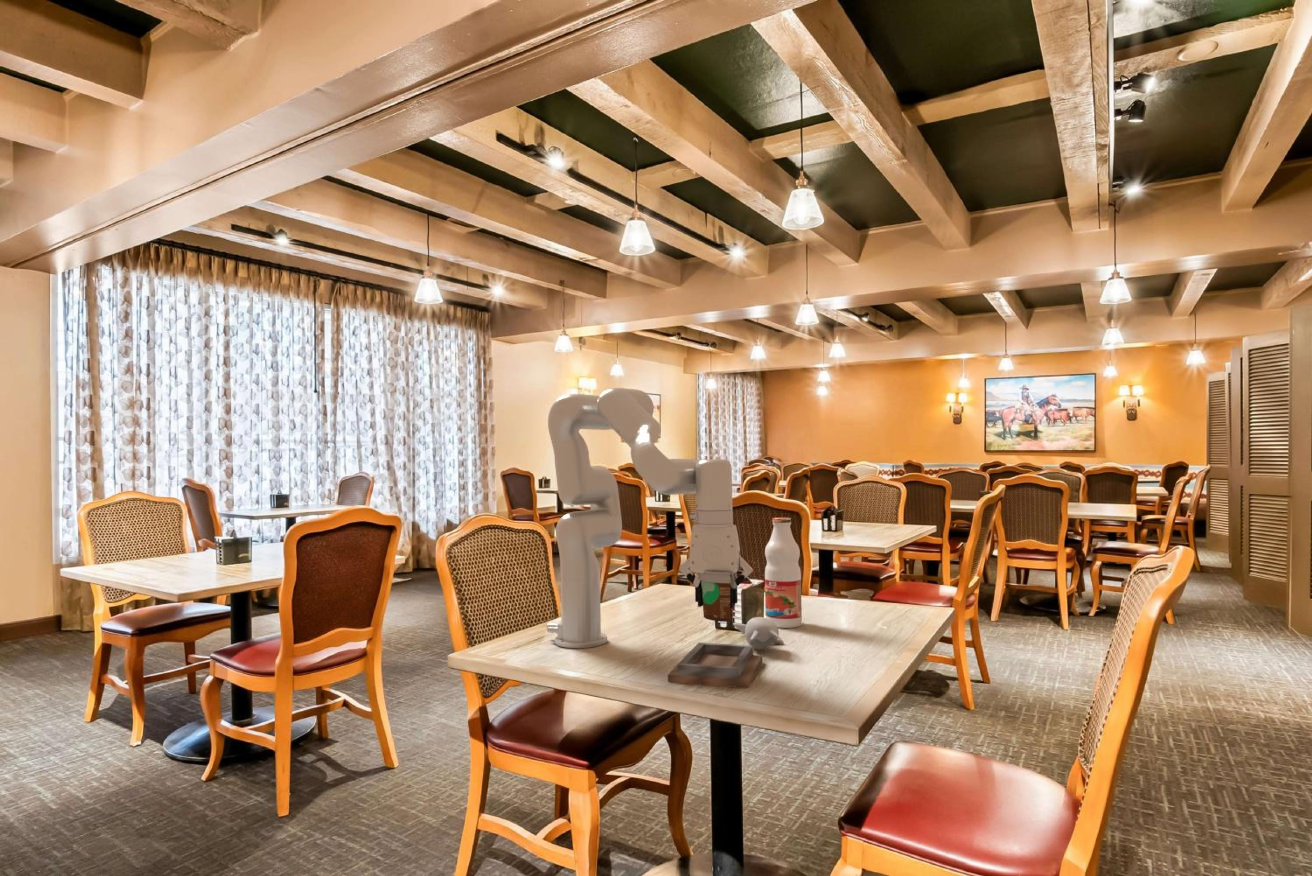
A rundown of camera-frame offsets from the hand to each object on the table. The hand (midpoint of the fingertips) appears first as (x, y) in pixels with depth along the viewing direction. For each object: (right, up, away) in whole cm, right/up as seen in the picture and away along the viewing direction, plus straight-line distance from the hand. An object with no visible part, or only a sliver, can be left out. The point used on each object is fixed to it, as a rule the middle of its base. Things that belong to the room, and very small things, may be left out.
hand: (716, 605), depth 150 cm
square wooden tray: (0, -14, 0) cm, 14 cm away
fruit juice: (+21, -15, +41) cm, 49 cm away
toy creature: (+12, -14, +18) cm, 26 cm away
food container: (-1, -3, 0) cm, 3 cm away
